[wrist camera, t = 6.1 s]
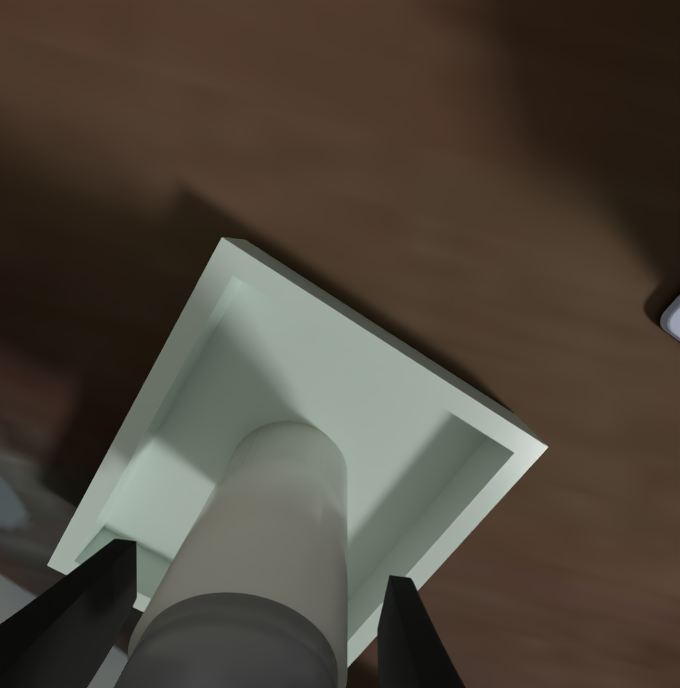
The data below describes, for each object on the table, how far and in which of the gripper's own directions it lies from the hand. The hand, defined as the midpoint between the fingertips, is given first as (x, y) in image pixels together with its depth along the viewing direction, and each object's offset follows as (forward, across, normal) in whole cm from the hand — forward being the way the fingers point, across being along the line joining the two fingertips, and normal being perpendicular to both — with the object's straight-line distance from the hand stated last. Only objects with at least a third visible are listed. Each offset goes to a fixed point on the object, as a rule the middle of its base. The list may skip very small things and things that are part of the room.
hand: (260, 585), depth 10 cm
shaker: (+5, 0, 0) cm, 5 cm away
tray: (+6, 0, 0) cm, 6 cm away
